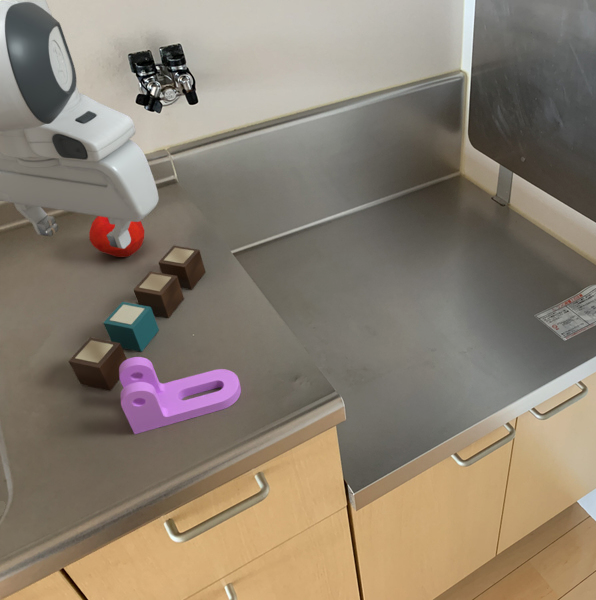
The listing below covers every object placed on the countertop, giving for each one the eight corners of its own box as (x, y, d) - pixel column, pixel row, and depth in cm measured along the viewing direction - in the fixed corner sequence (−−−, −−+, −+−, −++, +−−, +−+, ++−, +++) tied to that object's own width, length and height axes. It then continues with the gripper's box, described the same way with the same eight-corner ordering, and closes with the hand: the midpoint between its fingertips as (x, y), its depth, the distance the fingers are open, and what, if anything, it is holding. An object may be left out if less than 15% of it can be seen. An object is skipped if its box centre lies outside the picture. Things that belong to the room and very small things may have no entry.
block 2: (191, 290, 92) (184, 266, 89) (165, 285, 93) (157, 261, 90) (205, 272, 95) (199, 249, 92) (180, 267, 96) (173, 244, 93)
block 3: (168, 318, 87) (160, 294, 84) (141, 313, 88) (132, 289, 85) (184, 298, 91) (177, 275, 88) (158, 293, 91) (149, 270, 88)
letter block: (141, 352, 82) (132, 328, 79) (113, 346, 83) (102, 322, 80) (159, 330, 86) (150, 306, 83) (131, 324, 86) (122, 300, 83)
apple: (94, 270, 96) (78, 231, 91) (102, 241, 101) (87, 203, 97) (147, 264, 97) (134, 225, 92) (152, 235, 103) (140, 198, 98)
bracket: (134, 434, 72) (116, 396, 68) (132, 400, 76) (114, 361, 72) (244, 403, 76) (234, 365, 71) (236, 371, 80) (226, 333, 75)
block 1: (110, 391, 77) (98, 367, 74) (80, 384, 78) (67, 360, 75) (130, 366, 80) (120, 342, 77) (101, 360, 81) (89, 336, 78)
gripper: (-76, 123, 59) (-14, 241, 68) (108, 148, 56) (148, 269, 65) (-27, 99, 64) (25, 211, 73) (147, 120, 60) (179, 236, 69)
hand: (84, 238), depth 69 cm, fingers open, 8 cm apart
